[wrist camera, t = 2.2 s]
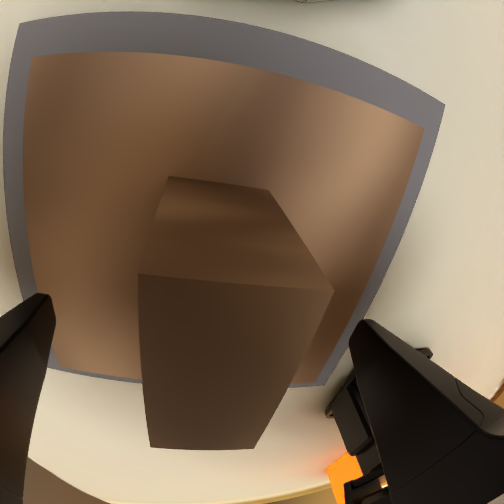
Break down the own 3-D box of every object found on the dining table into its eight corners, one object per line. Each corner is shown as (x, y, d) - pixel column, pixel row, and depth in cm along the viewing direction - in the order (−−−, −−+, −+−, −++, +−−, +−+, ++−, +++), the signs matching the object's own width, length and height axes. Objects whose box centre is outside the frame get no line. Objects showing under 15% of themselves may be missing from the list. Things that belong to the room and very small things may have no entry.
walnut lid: (411, 124, 9) (539, 174, 4) (310, 371, 15) (345, 463, 10) (43, 58, 6) (-87, 56, 1) (63, 354, 12) (37, 455, 7)
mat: (438, 103, 9) (445, 104, 9) (322, 380, 17) (324, 385, 16) (24, 24, 5) (19, 23, 5) (48, 361, 13) (46, 367, 12)
